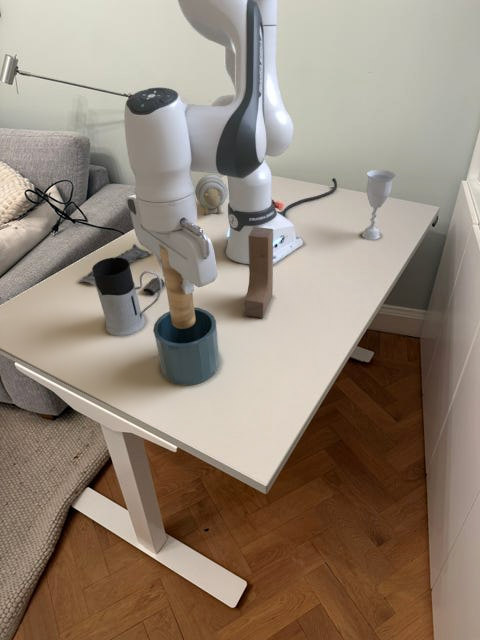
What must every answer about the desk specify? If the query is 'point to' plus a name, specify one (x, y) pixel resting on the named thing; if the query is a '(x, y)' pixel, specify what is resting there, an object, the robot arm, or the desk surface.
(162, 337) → the crock
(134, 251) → the grey fabric pouch
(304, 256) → the desk surface
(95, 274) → the glass holder
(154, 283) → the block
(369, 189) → the chalice
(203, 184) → the toy sheep
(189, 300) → the rolling pin
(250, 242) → the wooden block
